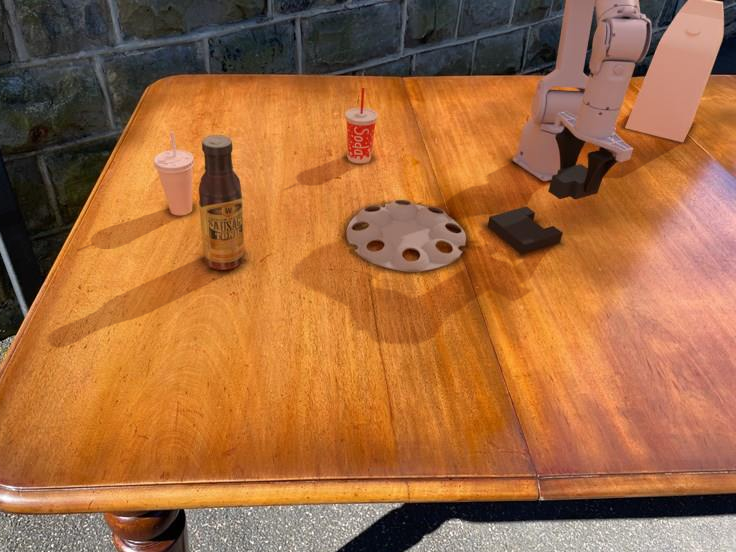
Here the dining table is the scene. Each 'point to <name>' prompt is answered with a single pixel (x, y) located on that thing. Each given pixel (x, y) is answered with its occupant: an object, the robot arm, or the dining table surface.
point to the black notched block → (570, 183)
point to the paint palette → (406, 236)
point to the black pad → (523, 230)
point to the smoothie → (176, 178)
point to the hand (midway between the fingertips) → (577, 182)
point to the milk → (679, 71)
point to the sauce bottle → (221, 206)
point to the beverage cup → (360, 132)
